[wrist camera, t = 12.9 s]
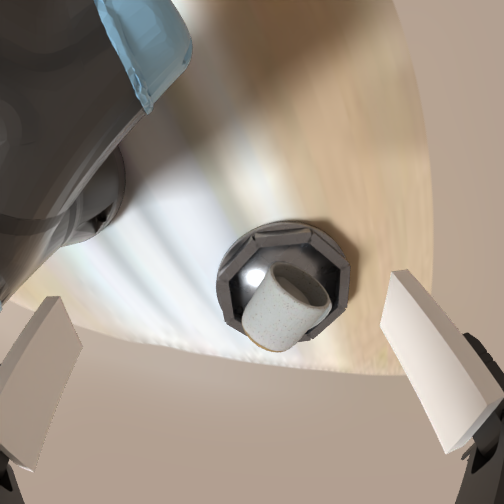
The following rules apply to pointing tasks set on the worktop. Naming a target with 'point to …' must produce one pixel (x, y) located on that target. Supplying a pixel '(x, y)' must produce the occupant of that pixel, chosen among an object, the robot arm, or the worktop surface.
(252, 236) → the ring plate
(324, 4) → the worktop surface
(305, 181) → the worktop surface
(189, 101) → the worktop surface
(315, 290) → the ceramic mug
